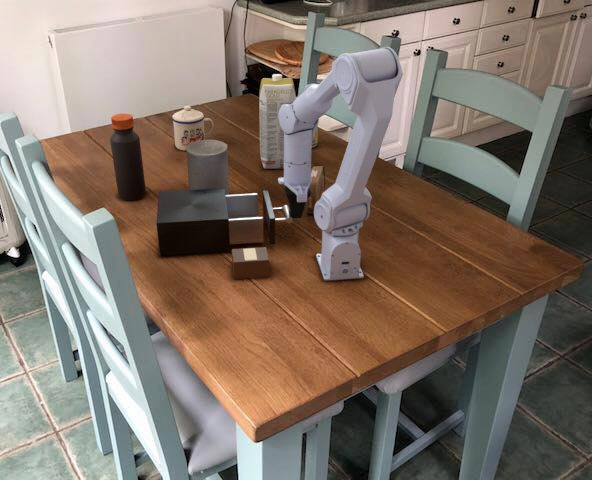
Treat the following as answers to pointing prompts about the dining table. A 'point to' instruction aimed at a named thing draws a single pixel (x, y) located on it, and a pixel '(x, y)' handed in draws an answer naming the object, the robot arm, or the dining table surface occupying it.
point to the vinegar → (127, 158)
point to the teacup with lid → (189, 127)
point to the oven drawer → (252, 218)
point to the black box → (193, 222)
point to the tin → (316, 187)
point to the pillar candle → (207, 165)
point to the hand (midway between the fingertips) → (296, 216)
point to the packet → (250, 263)
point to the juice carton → (273, 118)
